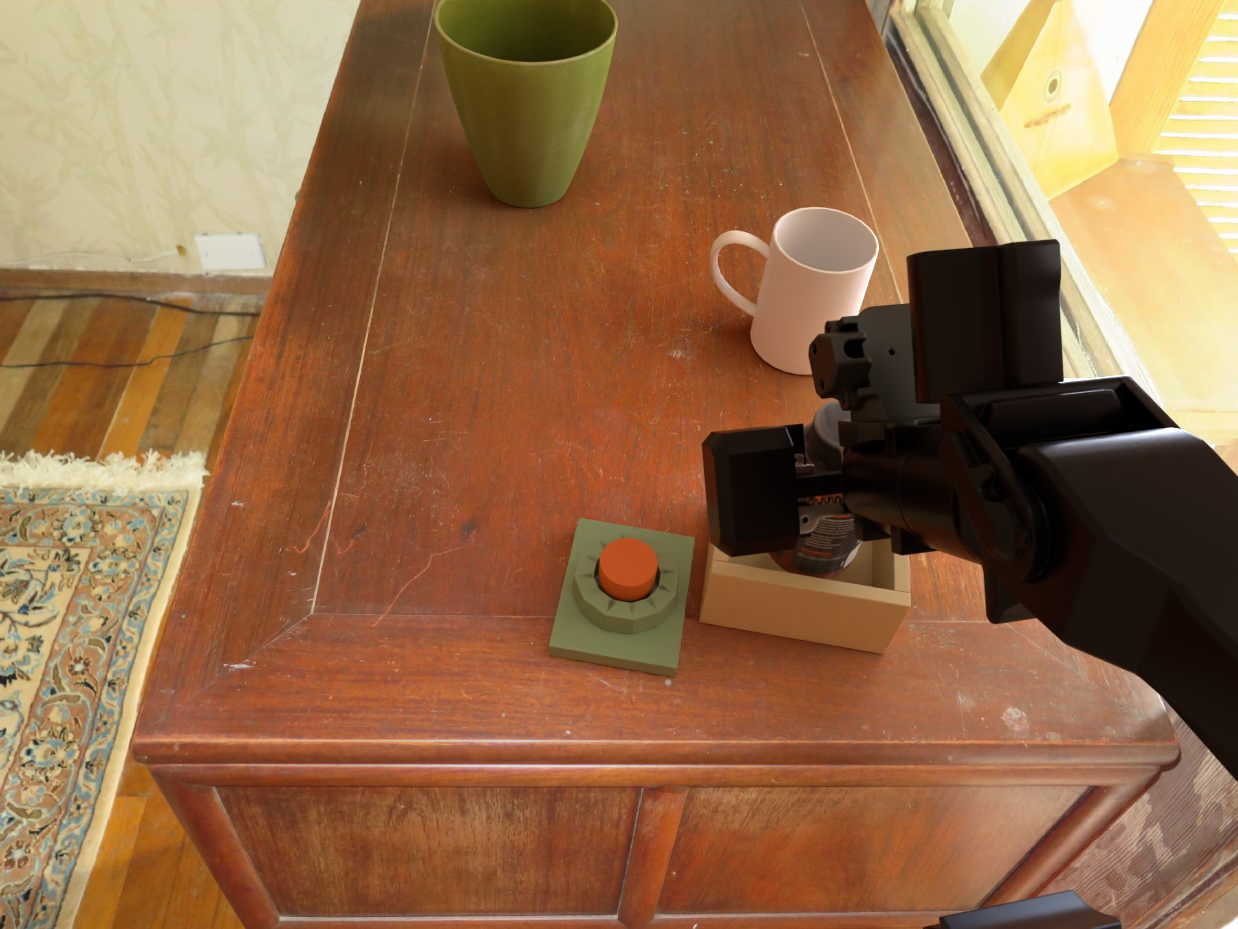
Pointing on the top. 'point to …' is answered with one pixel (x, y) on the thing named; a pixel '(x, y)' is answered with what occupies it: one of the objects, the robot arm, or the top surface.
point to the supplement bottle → (832, 535)
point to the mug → (802, 281)
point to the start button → (627, 569)
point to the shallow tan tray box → (811, 598)
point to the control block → (623, 603)
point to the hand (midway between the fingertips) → (824, 462)
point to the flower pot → (526, 87)
